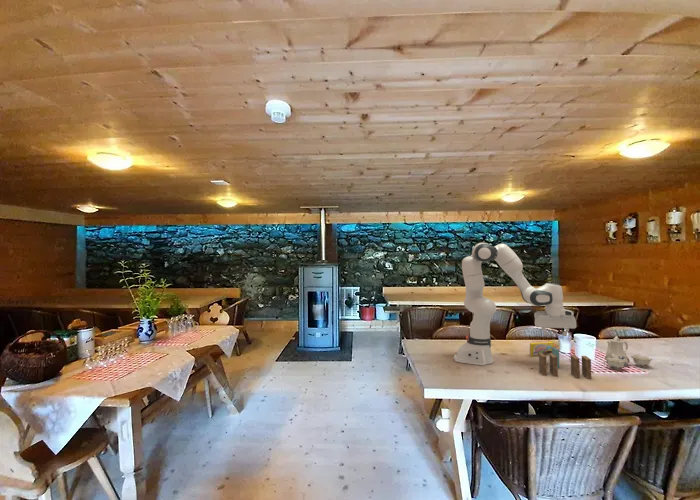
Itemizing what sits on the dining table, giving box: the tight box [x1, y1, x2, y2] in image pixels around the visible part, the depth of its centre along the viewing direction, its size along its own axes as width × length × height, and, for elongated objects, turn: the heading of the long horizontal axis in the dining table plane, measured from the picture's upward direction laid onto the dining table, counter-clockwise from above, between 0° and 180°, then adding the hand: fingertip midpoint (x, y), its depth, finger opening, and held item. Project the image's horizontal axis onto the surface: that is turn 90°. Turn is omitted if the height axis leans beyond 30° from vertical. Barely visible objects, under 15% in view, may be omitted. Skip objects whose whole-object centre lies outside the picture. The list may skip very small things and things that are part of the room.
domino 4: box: [581, 355, 592, 380], centre depth 166 cm, size 2×6×10 cm, turn 163°
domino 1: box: [538, 353, 548, 376], centre depth 171 cm, size 2×6×10 cm, turn 163°
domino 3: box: [570, 354, 581, 379], centre depth 167 cm, size 2×6×10 cm, turn 163°
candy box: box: [529, 341, 555, 358], centre depth 202 cm, size 16×2×8 cm, turn 101°
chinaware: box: [603, 335, 653, 371], centre depth 181 cm, size 28×17×17 cm, turn 106°
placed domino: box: [552, 346, 561, 369], centre depth 182 cm, size 2×6×10 cm, turn 163°
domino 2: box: [548, 354, 559, 377], centre depth 170 cm, size 2×6×10 cm, turn 163°
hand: (555, 335), depth 182 cm, fingers open, 8 cm apart
